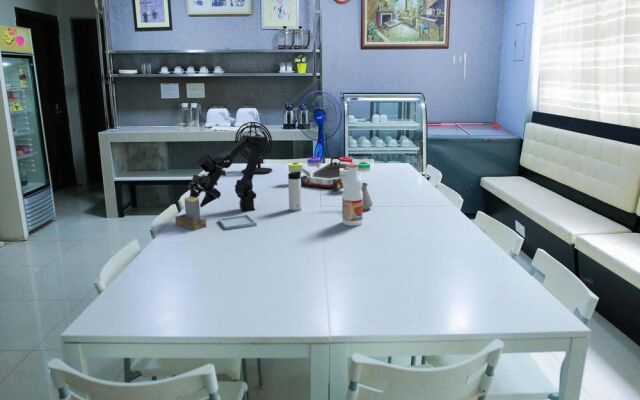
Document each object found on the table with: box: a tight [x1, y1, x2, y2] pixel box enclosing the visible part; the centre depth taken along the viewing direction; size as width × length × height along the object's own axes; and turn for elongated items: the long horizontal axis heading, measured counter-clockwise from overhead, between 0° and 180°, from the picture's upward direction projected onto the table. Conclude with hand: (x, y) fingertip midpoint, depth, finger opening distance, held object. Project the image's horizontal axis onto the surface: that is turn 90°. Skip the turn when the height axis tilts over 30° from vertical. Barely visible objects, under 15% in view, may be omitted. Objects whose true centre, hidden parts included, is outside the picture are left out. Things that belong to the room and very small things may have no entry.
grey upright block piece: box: [184, 196, 201, 221], centre depth 240 cm, size 6×7×13 cm
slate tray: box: [217, 214, 258, 231], centre depth 243 cm, size 15×15×2 cm
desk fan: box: [234, 121, 273, 175], centre depth 352 cm, size 27×18×35 cm, turn 74°
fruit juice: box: [341, 162, 364, 227], centre depth 237 cm, size 9×9×28 cm
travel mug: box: [287, 171, 302, 212], centre depth 261 cm, size 6×7×20 cm
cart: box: [288, 156, 371, 191], centre depth 320 cm, size 45×39×16 cm
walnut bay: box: [174, 213, 207, 231], centre depth 240 cm, size 7×14×4 cm, turn 49°
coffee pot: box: [331, 179, 374, 211], centre depth 263 cm, size 21×12×15 cm, turn 79°
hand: (194, 205), depth 240 cm, fingers open, 9 cm apart
